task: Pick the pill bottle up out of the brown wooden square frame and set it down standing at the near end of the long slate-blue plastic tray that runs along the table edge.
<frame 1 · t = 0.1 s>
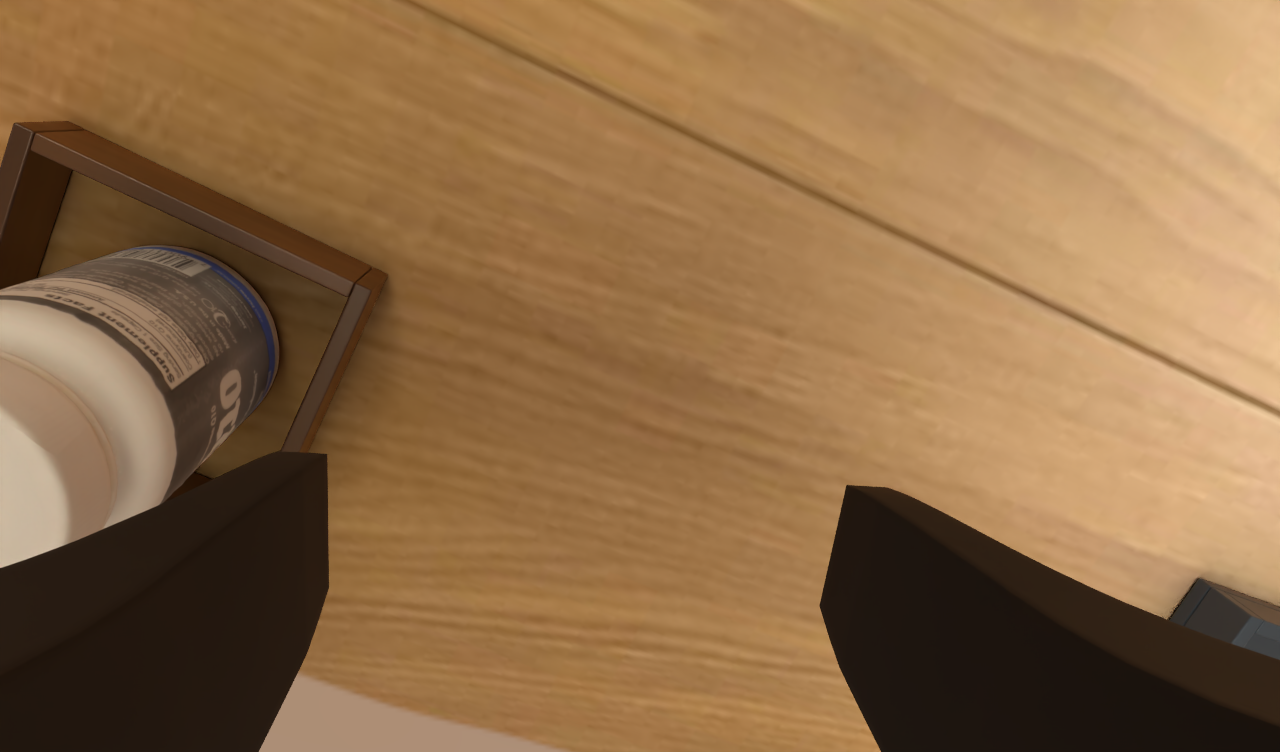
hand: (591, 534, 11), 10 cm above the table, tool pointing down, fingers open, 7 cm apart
brown wooden square frame: (182, 338, 19), on the table
pill bottle: (186, 336, 19), resting in brown wooden square frame
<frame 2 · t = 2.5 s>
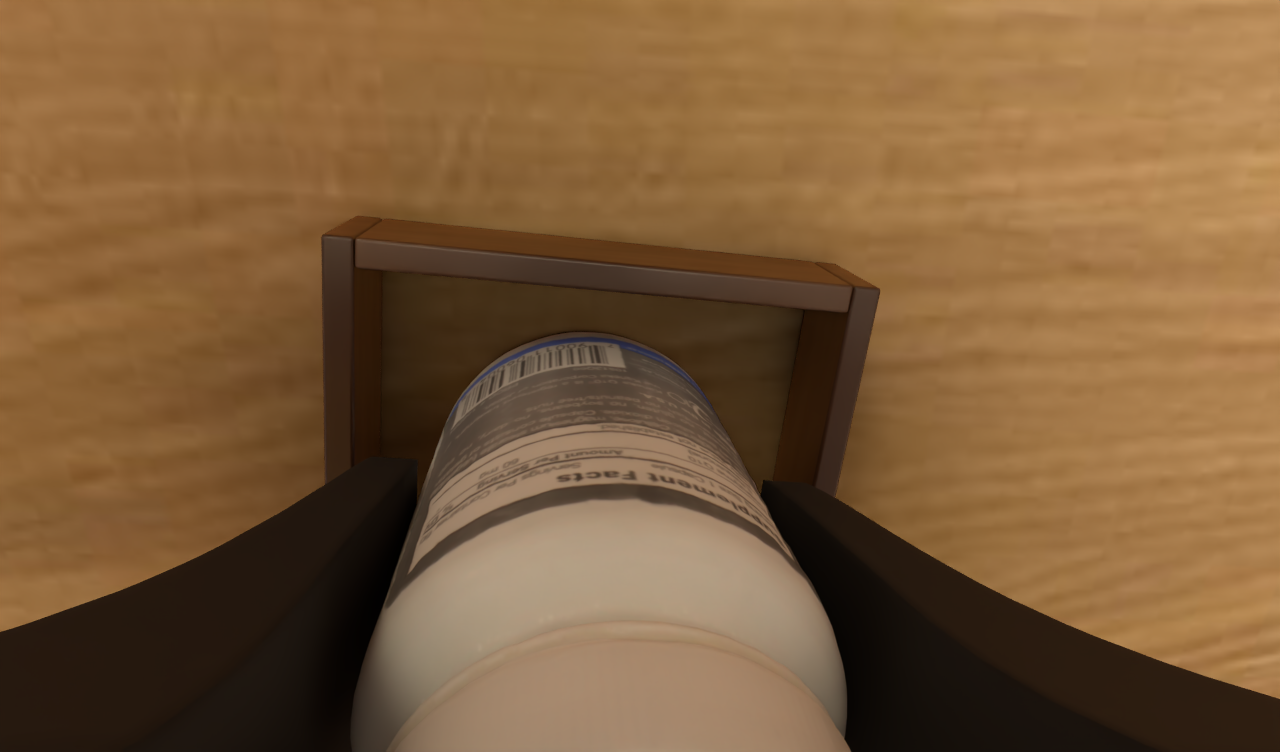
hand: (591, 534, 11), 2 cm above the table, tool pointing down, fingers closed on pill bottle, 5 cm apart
brown wooden square frame: (583, 460, 13), on the table
pill bottle: (583, 455, 13), resting in brown wooden square frame, touching gripper
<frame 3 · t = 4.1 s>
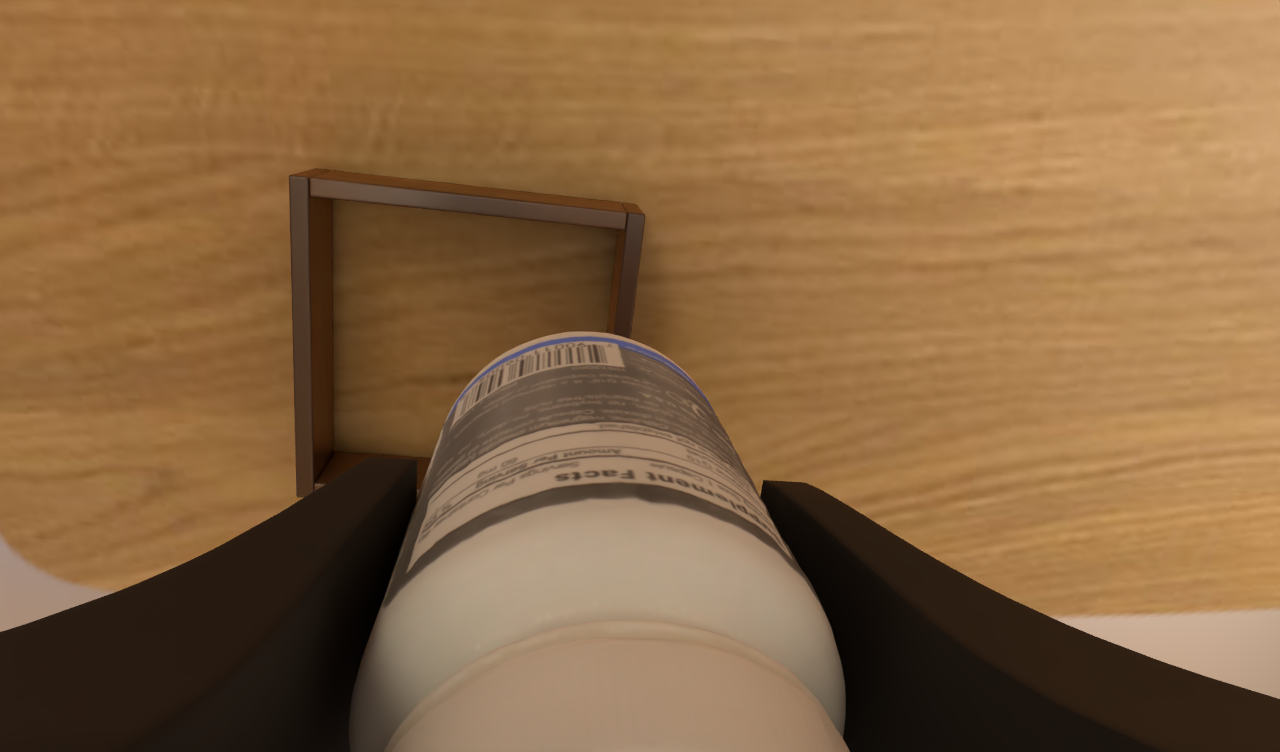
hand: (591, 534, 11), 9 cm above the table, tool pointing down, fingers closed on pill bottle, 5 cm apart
brown wooden square frame: (472, 338, 19), on the table
pill bottle: (582, 454, 13), point 7 cm above the table, touching gripper
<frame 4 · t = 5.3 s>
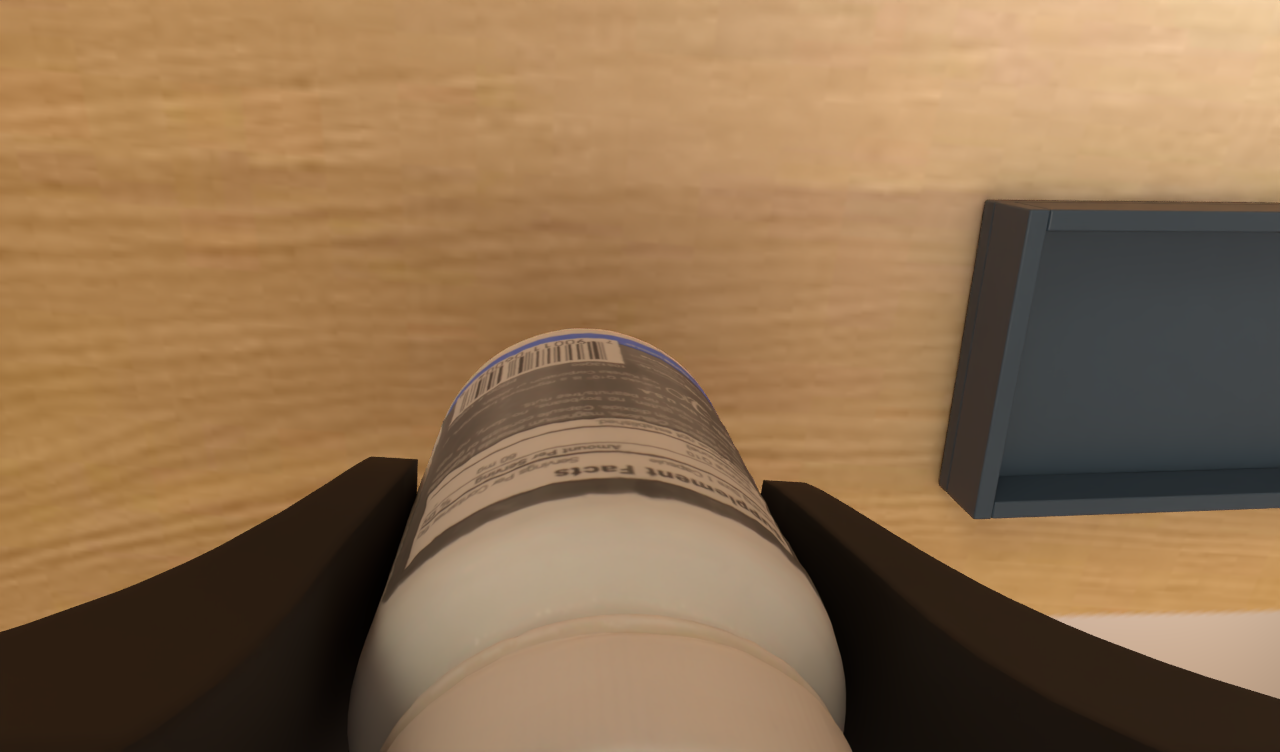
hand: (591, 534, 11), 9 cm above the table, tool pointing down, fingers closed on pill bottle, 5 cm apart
pill bottle: (581, 452, 13), point 7 cm above the table, touching gripper
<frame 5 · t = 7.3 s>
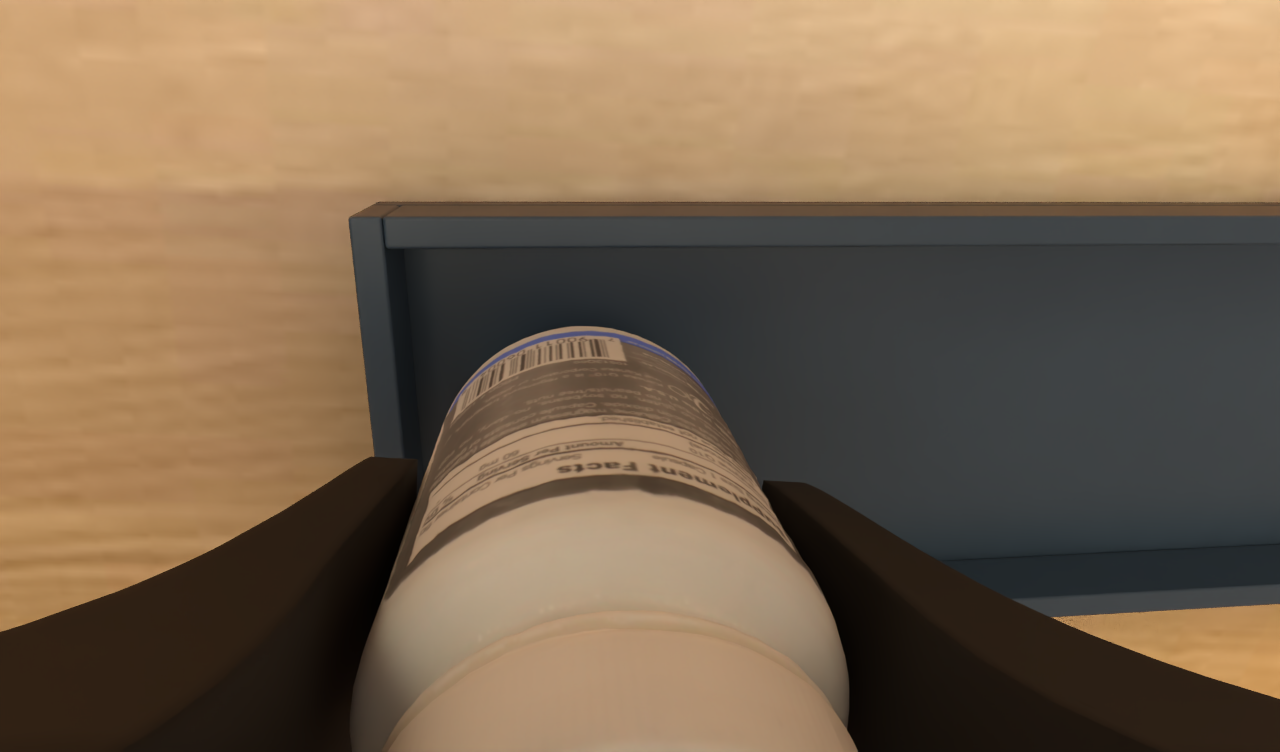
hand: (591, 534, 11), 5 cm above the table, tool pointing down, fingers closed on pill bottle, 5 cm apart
tray: (1275, 390, 17), on the table
pill bottle: (583, 450, 13), point 2 cm above the table, touching gripper
when the fingers open (3 cm above the table, at t = 8.4 s): pill bottle stays where it is, resting on tray.
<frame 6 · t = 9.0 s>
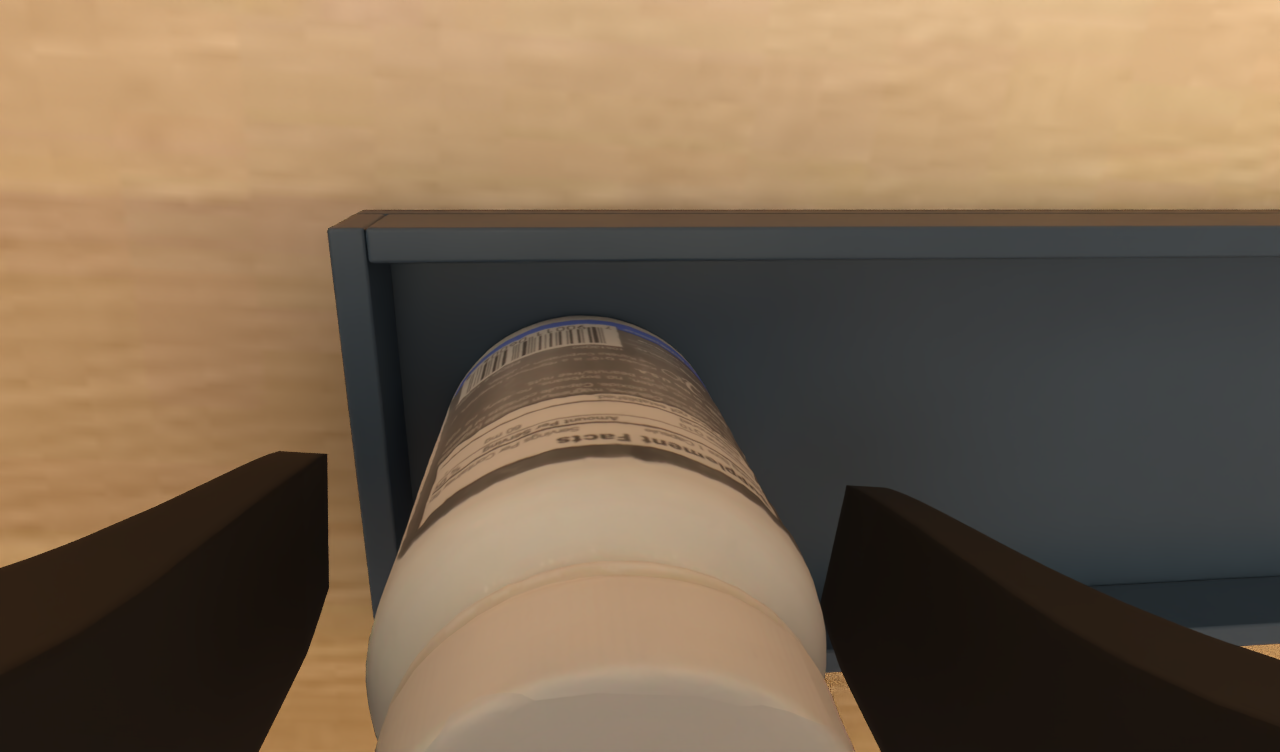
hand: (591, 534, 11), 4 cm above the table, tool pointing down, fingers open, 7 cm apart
pill bottle: (582, 435, 14), resting on tray
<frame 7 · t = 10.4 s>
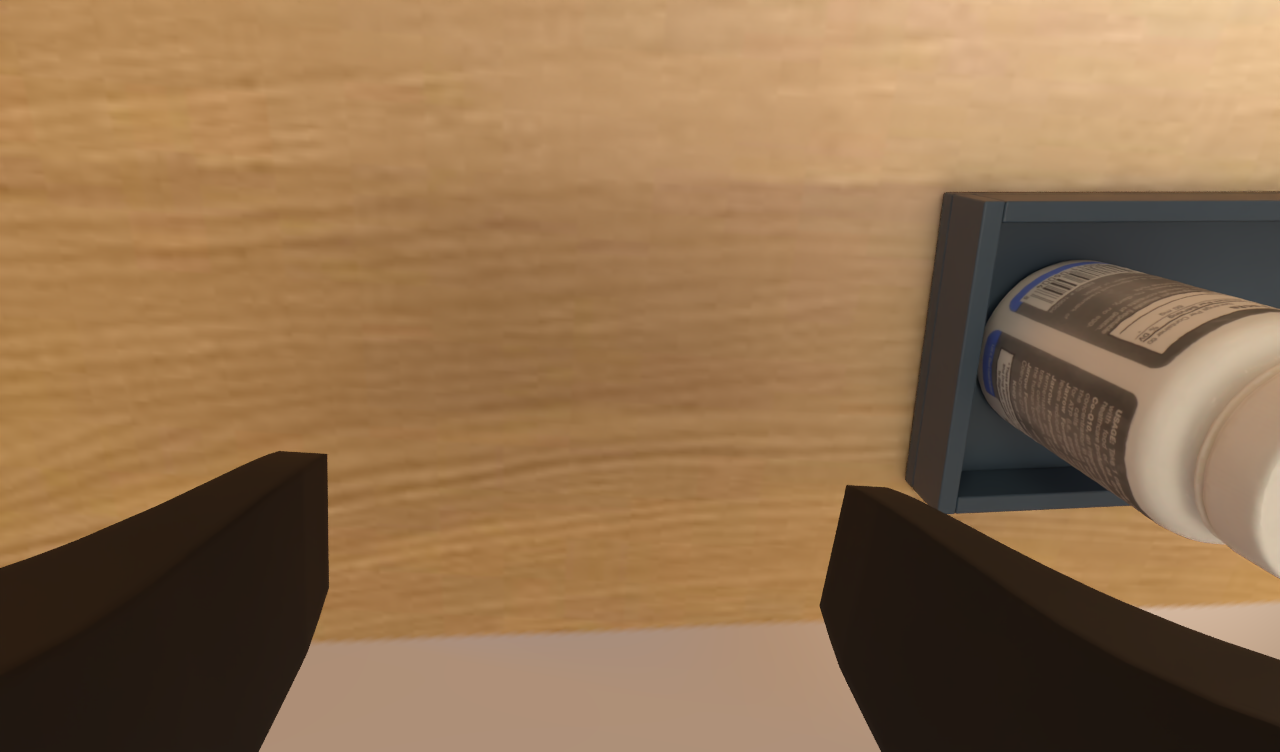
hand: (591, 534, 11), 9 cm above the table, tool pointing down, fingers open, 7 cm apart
pill bottle: (1052, 342, 21), resting on tray
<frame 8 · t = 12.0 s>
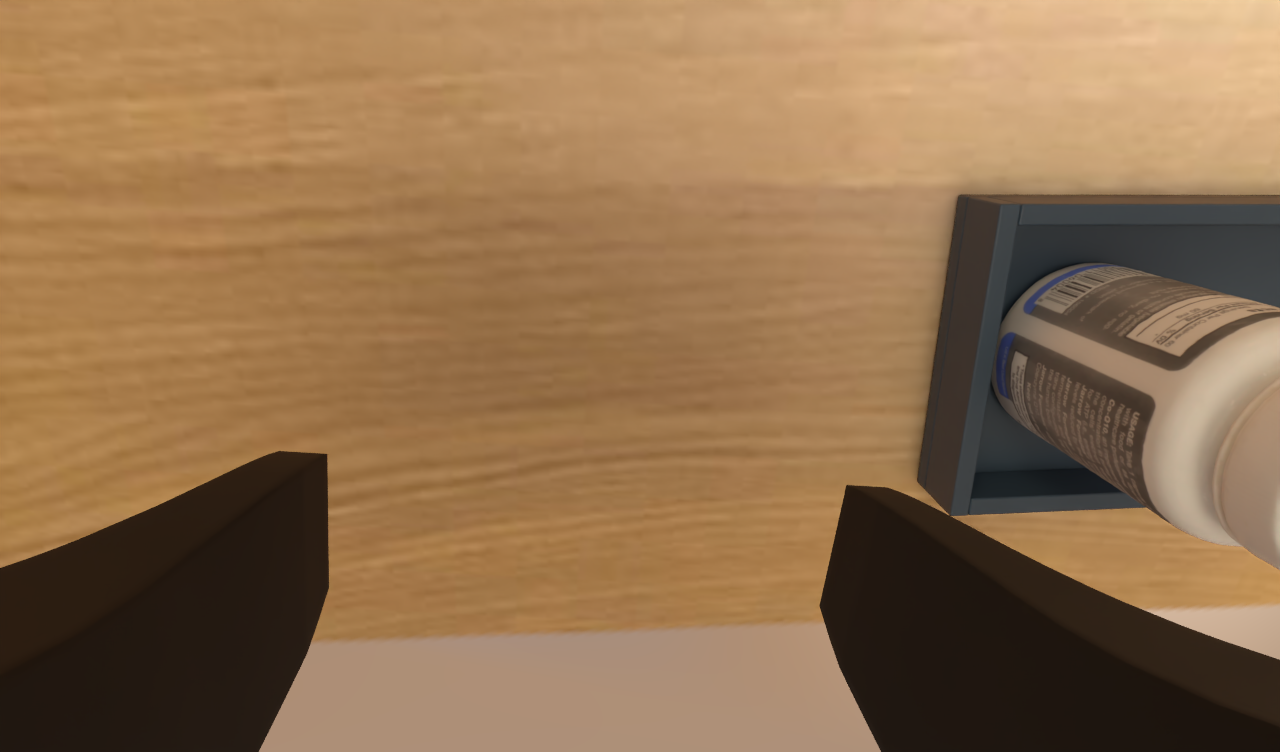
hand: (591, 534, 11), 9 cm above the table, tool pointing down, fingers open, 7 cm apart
pill bottle: (1065, 344, 21), resting on tray
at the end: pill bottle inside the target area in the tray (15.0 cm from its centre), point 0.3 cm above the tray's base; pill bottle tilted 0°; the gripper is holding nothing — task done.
